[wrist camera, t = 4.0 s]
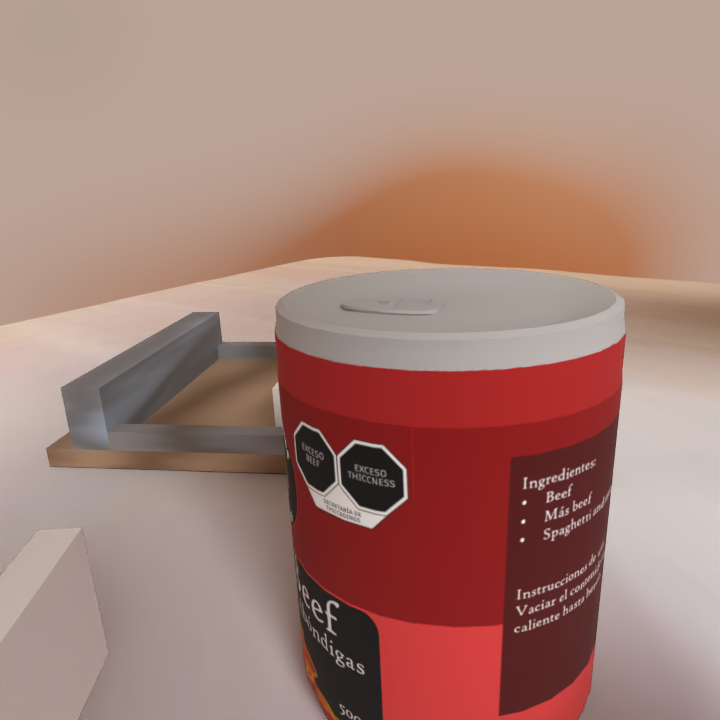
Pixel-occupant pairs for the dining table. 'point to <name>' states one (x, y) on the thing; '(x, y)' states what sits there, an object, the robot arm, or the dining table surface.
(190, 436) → the slide board
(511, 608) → the canned food
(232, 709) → the dining table surface
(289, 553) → the dining table surface
